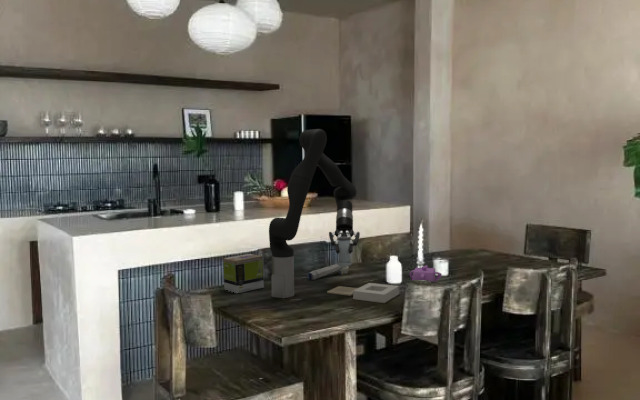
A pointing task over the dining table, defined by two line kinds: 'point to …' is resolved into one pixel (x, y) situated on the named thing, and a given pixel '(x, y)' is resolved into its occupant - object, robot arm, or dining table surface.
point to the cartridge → (344, 251)
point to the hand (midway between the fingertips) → (344, 252)
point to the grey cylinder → (327, 271)
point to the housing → (376, 292)
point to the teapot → (425, 274)
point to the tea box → (243, 273)
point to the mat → (342, 290)
